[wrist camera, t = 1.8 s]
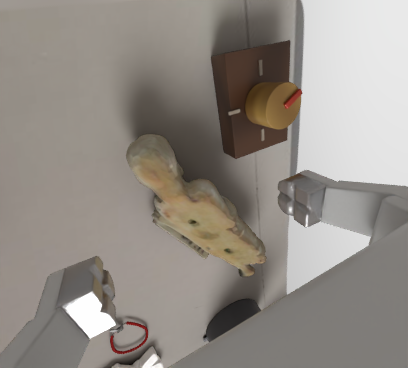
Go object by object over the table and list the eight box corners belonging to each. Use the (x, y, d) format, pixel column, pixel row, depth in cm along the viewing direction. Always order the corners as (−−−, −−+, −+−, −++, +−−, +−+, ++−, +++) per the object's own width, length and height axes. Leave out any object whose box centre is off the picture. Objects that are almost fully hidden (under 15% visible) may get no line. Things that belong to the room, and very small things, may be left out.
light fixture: (241, 436, 28) (318, 373, 32) (197, 323, 41) (255, 289, 45) (247, 453, 35) (310, 400, 39) (207, 352, 48) (258, 320, 52)
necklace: (99, 330, 31) (99, 337, 30) (139, 311, 33) (140, 317, 32) (118, 356, 35) (118, 363, 34) (152, 338, 37) (153, 344, 36)
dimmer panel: (208, 57, 22) (222, 53, 19) (273, 44, 24) (294, 39, 21) (221, 153, 27) (234, 160, 24) (273, 134, 29) (290, 139, 27)
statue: (279, 245, 37) (163, 107, 22) (298, 284, 31) (155, 129, 16) (232, 268, 40) (103, 160, 25) (240, 308, 33) (76, 194, 19)
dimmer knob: (256, 131, 24) (279, 139, 21) (238, 102, 22) (260, 106, 19) (282, 104, 24) (308, 108, 21) (266, 72, 22) (294, 70, 19)
